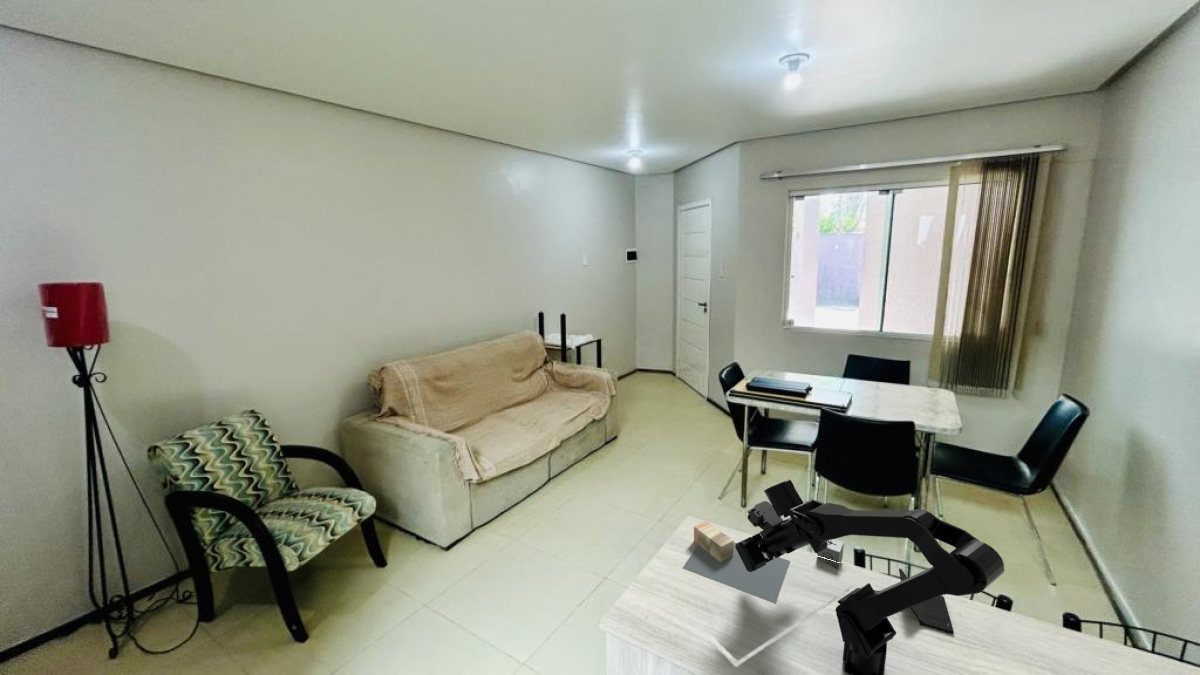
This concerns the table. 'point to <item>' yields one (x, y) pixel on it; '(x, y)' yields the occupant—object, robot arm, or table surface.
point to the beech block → (713, 541)
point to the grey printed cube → (832, 553)
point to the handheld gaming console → (932, 612)
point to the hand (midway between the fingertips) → (751, 551)
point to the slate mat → (740, 573)
